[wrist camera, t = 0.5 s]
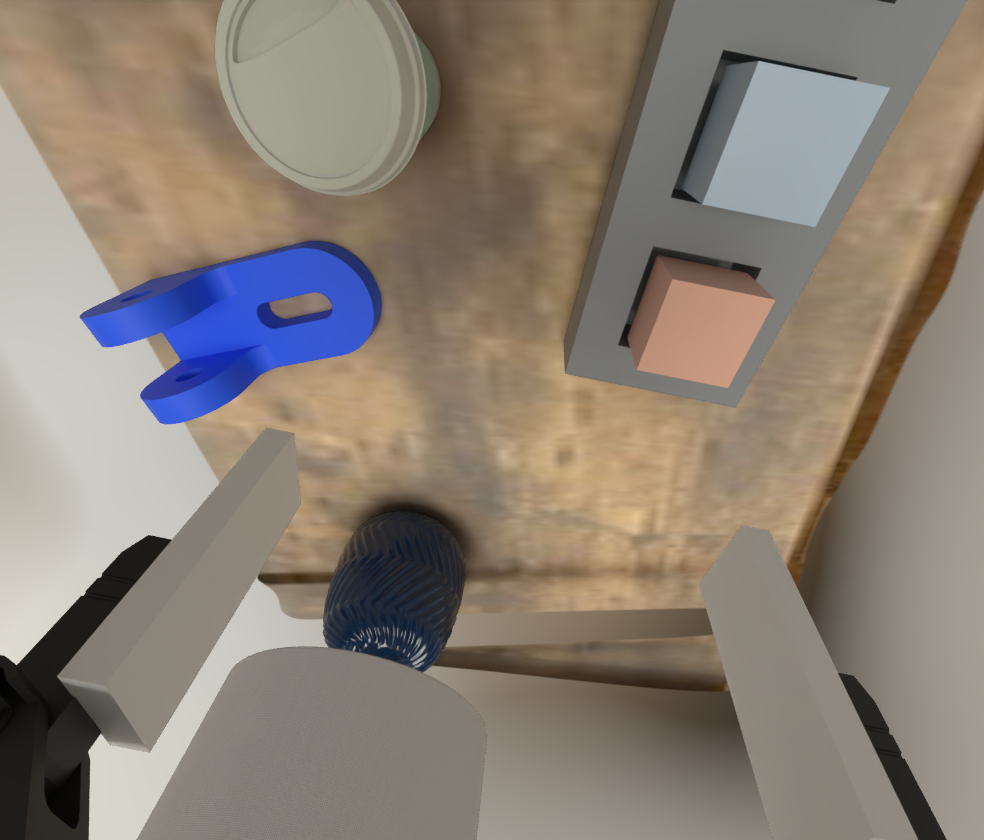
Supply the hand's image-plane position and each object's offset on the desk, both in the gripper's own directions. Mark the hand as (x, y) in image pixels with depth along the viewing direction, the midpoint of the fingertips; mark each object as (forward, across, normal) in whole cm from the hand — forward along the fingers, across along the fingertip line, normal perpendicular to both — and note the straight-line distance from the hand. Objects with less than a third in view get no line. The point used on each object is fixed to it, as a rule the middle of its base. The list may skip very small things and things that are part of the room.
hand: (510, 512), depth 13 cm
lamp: (+24, -6, -32) cm, 40 cm away
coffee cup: (+25, -11, +8) cm, 28 cm away
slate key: (+20, +9, +9) cm, 24 cm away
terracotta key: (+20, +9, 0) cm, 22 cm away
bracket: (+25, -20, -8) cm, 32 cm away
